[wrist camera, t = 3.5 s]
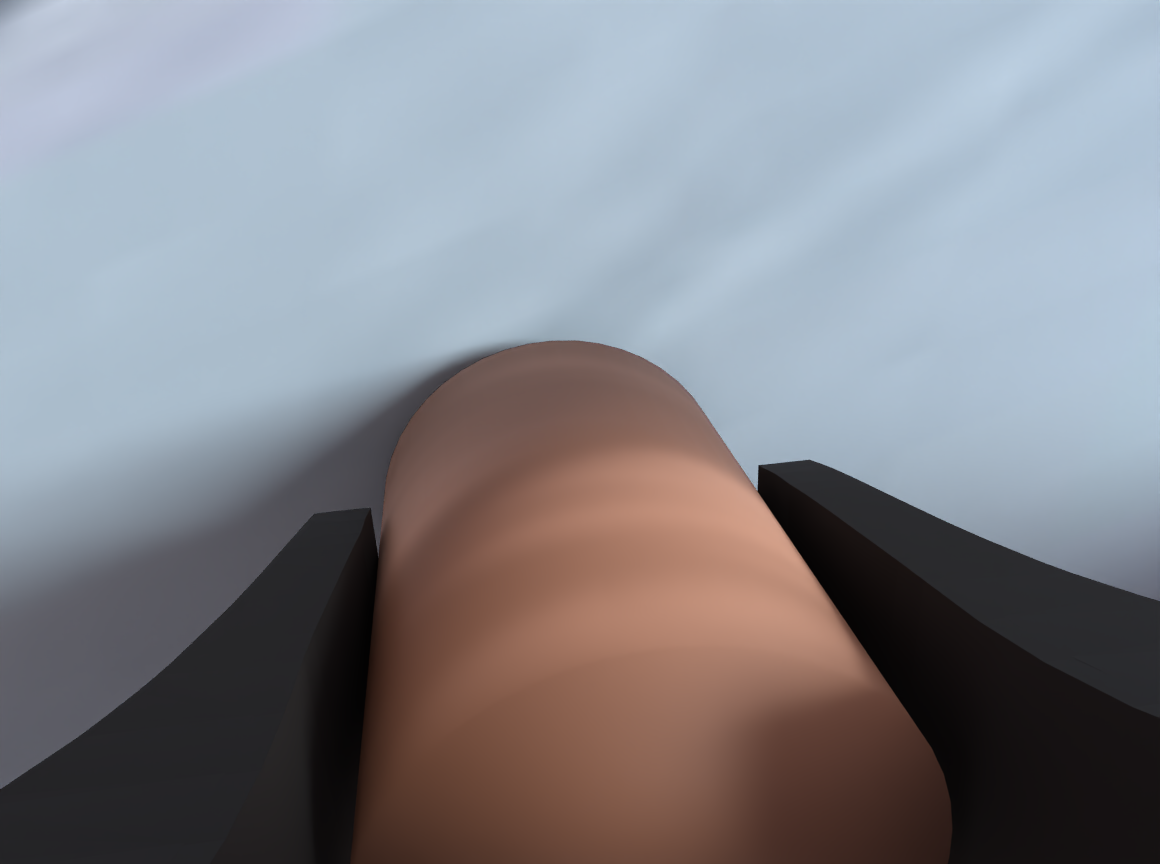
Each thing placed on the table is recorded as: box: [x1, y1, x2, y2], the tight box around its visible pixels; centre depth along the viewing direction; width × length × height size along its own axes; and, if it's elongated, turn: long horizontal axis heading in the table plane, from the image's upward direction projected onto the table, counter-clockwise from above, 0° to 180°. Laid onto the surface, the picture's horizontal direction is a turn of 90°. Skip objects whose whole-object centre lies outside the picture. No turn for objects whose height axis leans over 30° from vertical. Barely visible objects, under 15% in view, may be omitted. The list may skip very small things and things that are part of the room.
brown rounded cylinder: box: [350, 341, 952, 864], centre depth 9 cm, size 4×4×6 cm
